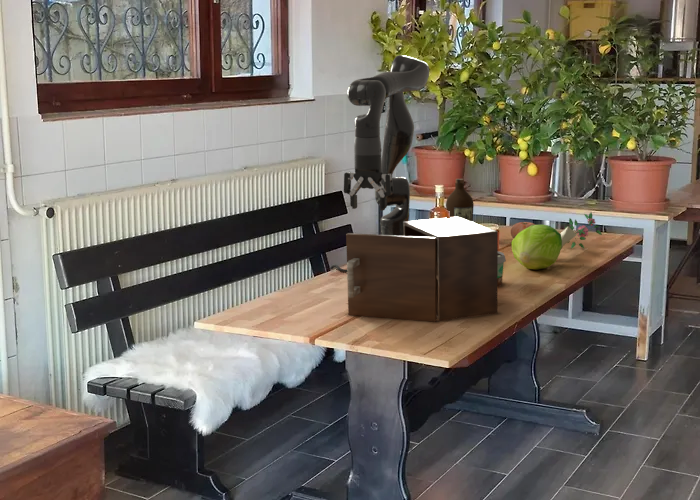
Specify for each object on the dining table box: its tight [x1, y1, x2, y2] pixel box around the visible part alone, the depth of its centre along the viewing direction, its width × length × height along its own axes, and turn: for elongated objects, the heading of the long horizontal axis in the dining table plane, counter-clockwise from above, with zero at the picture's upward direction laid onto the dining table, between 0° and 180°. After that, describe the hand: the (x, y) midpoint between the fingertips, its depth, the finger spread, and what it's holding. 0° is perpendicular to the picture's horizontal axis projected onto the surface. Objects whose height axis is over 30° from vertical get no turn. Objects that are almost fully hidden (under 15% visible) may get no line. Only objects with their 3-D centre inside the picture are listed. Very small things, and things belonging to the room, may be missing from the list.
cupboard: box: [403, 217, 499, 322], centre depth 273 cm, size 18×26×24 cm
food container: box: [497, 250, 507, 288], centre depth 298 cm, size 12×6×10 cm, turn 168°
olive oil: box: [445, 178, 475, 222], centre depth 361 cm, size 11×11×25 cm
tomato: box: [510, 221, 536, 240], centre depth 362 cm, size 11×11×8 cm
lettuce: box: [511, 223, 563, 271], centre depth 317 cm, size 17×20×15 cm
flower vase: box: [559, 211, 603, 250], centre depth 342 cm, size 12×12×35 cm
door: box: [345, 232, 438, 323], centre depth 260 cm, size 7×26×24 cm, turn 69°
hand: (368, 209), depth 266 cm, fingers open, 8 cm apart
